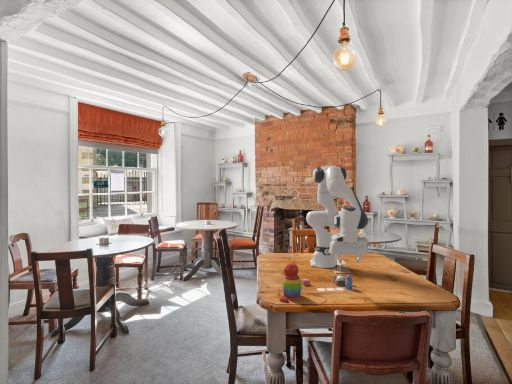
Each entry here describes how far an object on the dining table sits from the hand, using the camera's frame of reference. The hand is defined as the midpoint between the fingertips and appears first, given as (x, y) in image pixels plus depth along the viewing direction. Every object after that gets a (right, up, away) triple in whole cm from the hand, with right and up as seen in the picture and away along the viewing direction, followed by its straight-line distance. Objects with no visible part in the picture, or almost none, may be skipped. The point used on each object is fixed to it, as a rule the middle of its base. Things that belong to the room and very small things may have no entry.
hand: (348, 263), depth 157 cm
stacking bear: (-32, -16, -10) cm, 37 cm away
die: (-22, -15, +7) cm, 28 cm away
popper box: (-2, -15, +9) cm, 17 cm away
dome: (-2, -14, +9) cm, 17 cm away
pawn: (0, -14, 0) cm, 14 cm away
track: (-7, -15, -1) cm, 17 cm away
